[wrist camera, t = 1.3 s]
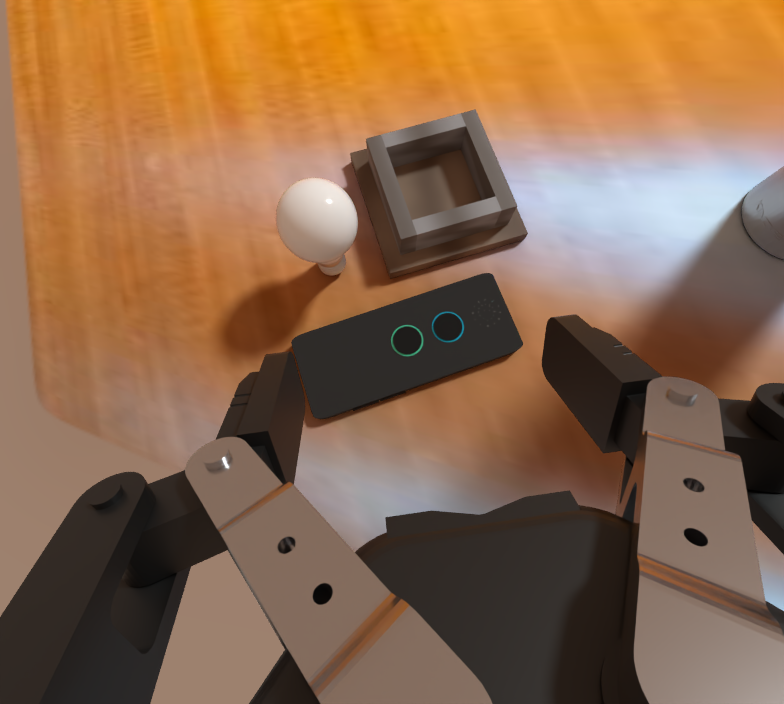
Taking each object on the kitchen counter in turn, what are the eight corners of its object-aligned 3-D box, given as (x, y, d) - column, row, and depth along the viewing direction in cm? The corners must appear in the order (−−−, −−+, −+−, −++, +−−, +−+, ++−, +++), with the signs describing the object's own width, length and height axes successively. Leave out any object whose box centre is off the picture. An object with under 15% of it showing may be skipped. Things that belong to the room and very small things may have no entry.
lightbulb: (302, 298, 37) (264, 241, 26) (300, 239, 38) (263, 162, 28) (367, 292, 37) (356, 233, 26) (362, 234, 38) (350, 154, 28)
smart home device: (526, 348, 34) (314, 423, 33) (520, 352, 36) (318, 423, 35) (491, 268, 36) (288, 336, 35) (486, 276, 38) (293, 340, 37)
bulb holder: (475, 127, 41) (484, 93, 37) (523, 239, 38) (539, 215, 34) (351, 161, 40) (346, 130, 36) (390, 278, 37) (389, 258, 33)
